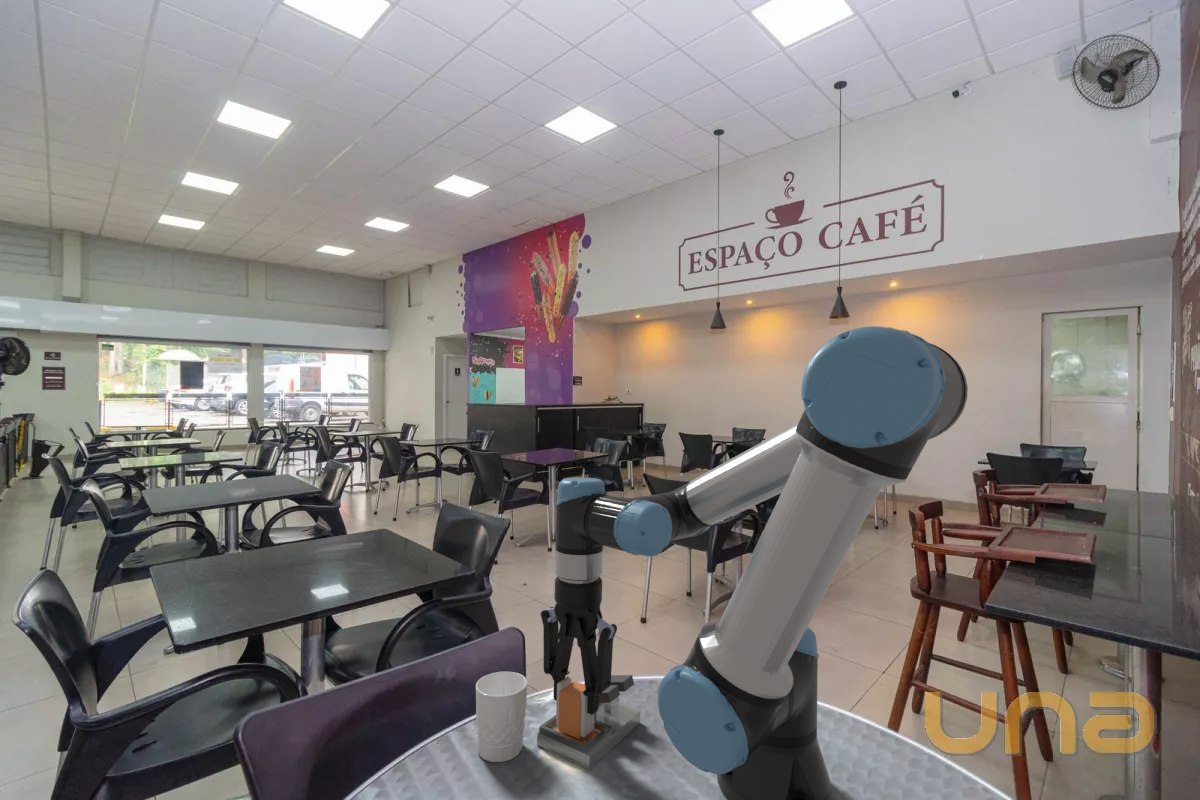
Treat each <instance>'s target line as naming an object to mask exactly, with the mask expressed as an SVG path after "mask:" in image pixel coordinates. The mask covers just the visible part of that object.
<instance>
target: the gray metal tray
mask: <svg viewBox="0 0 1200 800" xmlns="http://www.w3.org/2000/svg"><path fill="white" fill-rule="evenodd" d="M619 701H620V695H619V696H618V697H617V698H615V699H614V700H613V701H612V702H610V703H599V708H598V711H597V712H595V717H594V730H593V731H591V732H590V733H589V734H588V735H587V736H585V737H581V738H580V739H577V738H575V737H573V736H570V735H568V734H566V733H563V732H561V731H559V726H557V725H556V714H555V715H554V716H552V717H551V718H549V719H548V720H546V721H545V722H544V723H542V724H541V725H540V726H539V729H538V731H537V733H536V746H538V747H540V748H542V749H543V750H546V751H548V752H550V753H552V754H554V755H556V756H559V757H561V758H563V759H565V760H568V761H570V762H572V763H574V764H576V765H578V766H580V767H582V768H585V769H587V770H589V771H590V769H592V768H593V767H594V766H595V765H596V764H598V762H599V761H601V760H602V759H603V758H604V757H605V756H606V755H607V754H608V753H609V752H610V751H612V750H613V748H615V747H616V746H617V744H619V743H620V742H621V741H622V740H624V738H626V736H627V735H629V734H630V733H631V732H632V731H633V730H634V729H635V728H636V727H637V726H638V725H640V723H641V710H640V709H638V708H635V707H632V706H629V705H627V704H625V703H620V702H619Z"/></svg>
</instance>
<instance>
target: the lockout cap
mask: <svg viewBox="0 0 1200 800" xmlns="http://www.w3.org/2000/svg"><path fill="white" fill-rule="evenodd" d="M584 690H585V683H581V682H578V681H575V680H574V681H571V684H570V685H568V686H567V687H565V688H564V689H562V690H561V691H559V731H561V732H563V733H566V734H568V735H570V736H573V737H575V738H577V739H580V738H581V737H582V736H580V727H581V692H582V691H584Z"/></svg>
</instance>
